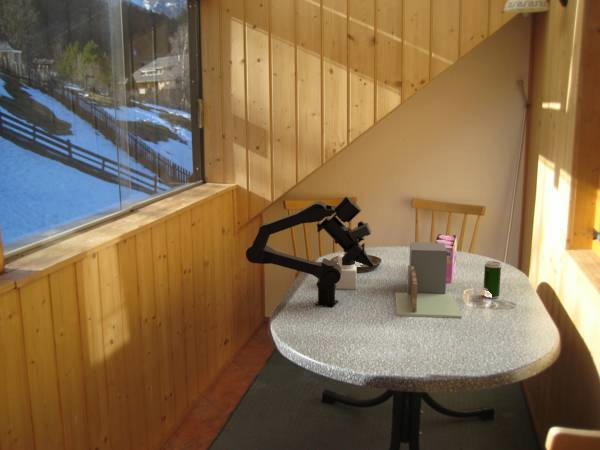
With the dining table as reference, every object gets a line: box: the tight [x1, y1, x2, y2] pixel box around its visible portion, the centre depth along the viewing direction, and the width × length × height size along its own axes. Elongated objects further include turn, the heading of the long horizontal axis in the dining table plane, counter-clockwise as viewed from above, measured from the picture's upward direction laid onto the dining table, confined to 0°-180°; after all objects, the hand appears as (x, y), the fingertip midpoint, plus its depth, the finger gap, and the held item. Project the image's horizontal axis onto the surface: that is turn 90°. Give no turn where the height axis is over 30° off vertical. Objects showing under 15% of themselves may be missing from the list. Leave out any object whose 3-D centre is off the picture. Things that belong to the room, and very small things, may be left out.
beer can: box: [482, 260, 502, 300], centre depth 218 cm, size 5×5×12 cm
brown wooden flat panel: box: [410, 269, 417, 311], centre depth 209 cm, size 18×1×9 cm, turn 172°
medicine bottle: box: [335, 253, 358, 290], centre depth 230 cm, size 7×7×12 cm
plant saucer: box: [330, 254, 382, 273], centre depth 257 cm, size 21×21×3 cm
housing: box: [395, 241, 463, 319], centre depth 214 cm, size 34×20×16 cm, turn 172°
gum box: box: [433, 233, 458, 284], centre depth 246 cm, size 24×8×14 cm, turn 163°
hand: (372, 266), depth 208 cm, fingers closed
